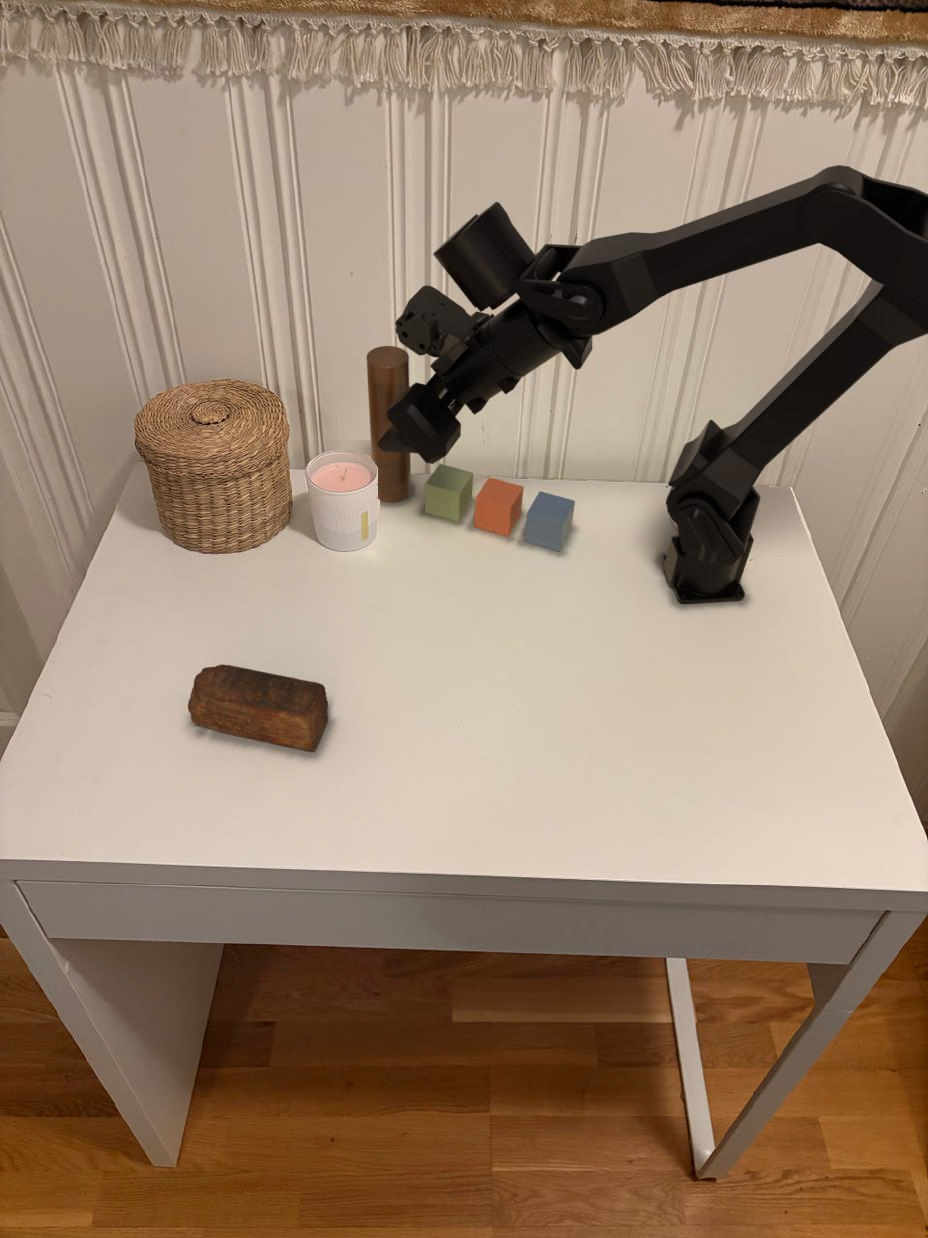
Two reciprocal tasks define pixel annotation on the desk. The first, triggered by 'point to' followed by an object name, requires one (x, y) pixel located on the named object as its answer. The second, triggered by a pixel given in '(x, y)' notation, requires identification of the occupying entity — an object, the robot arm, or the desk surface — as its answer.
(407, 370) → the walnut cylinder
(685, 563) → the robot arm
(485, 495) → the colored block line
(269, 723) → the brick
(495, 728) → the desk surface
